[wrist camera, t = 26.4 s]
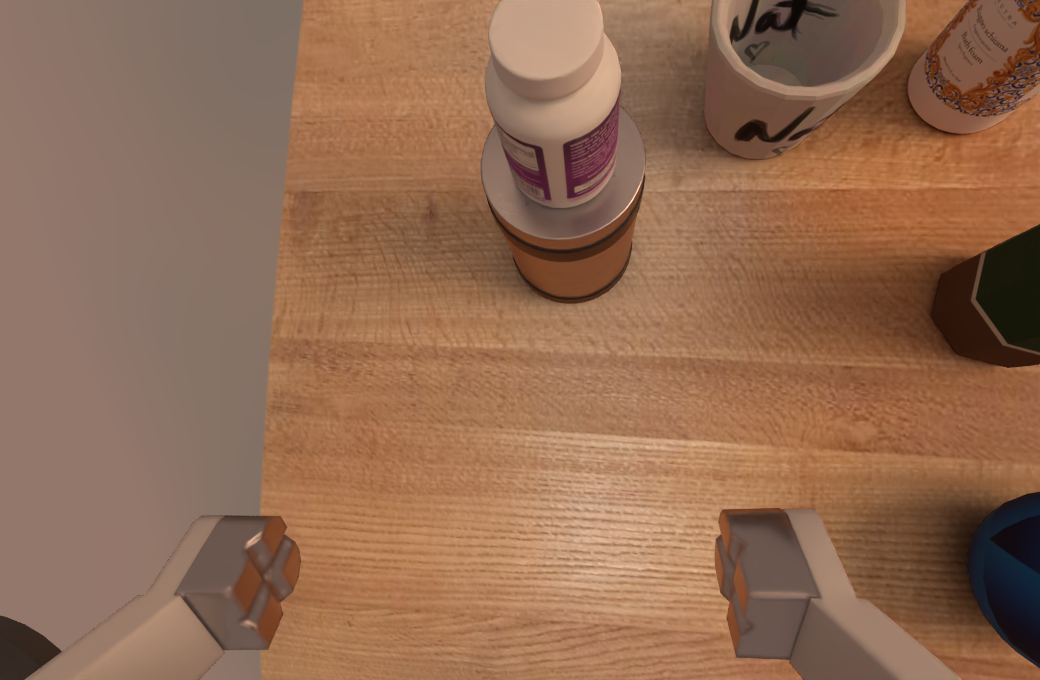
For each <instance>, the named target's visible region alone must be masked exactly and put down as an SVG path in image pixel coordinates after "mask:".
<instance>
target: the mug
mask: <svg viewBox="0 0 1040 680" xmlns="http://www.w3.org/2000/svg"><path fill="white" fill-rule="evenodd" d="M905 11H906V1H905V0H713V1H712V6H711V17H710V28H709V44H708V60H707V75H706V91H705V107H704V117H705V120H706V124H707V128H708V130H709V132H710V133H711V135H712V136H713V138H714V139H715V140H716V142H717V143H718V144H719V145H720V146H722V147H723V148H724V149H726V150H727V151H728V152H730V153H732V154H735V155H738V156H741V157H743V158H750V159H766V158H771V157H775V156H780V155H782V154H784V153H786V152H788V151H789V150H791V149H793V148H795V147H796V146H797V145H799V144H800V143H801V142H802V141H803V140H804V139H805V138H807V137H808V136H809V135H810V134H811V133H812V132H813V131H814V130H816V129H817V128H818V127H819V126H820V125H821V124H822V123H823V122H825V121H826V120H827V119H828V118H829V117H830V116H831V115H832V114H834V113H835V112H836V111H837V110H838V109H839V108H840V107H841V106H843V105H844V104H845V103H846V102H847V101H848V100H849V99H851V98H852V97H853V96H854V95H855V94H856V93H857V92H858V91H860V90H861V89H862V88H863V87H864V86H865V85H866V84H867V83H869V82H870V81H871V80H872V79H873V78H874V77H875V76H876V75H877V74H878V73H879V72H880V71H881V69H882V68H883V67H884V66H885V65H886V64H887V63H888V62H889V61H890V60H891V59H892V58H893V56H894V53H895V51H896V49H897V47H898V44H899V42H900V40H901V37H902V35H903V33H904V30H905Z"/></svg>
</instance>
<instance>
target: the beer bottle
mask: <svg viewBox="0 0 1040 680" xmlns="http://www.w3.org/2000/svg"><path fill="white" fill-rule="evenodd" d="M931 317H932V319H933V320H934V321H935V323H936V324H937V326H938V327H939V329H940V330H941V331H942V333H943V334H944V336H945V337H946V339H947V340H948V341H949V343H950V344H951V346H952V347H953V349H954V350H955V352H956V353H957V354H959V355H963V356H966V357H970V358H974V359H977V360H981V361H985V362H989V363H992V364H996V365H1000V366H1003V367H1007V368H1010V367H1021V366H1031V365H1037V364H1040V224H1039V225H1037V226H1035V227H1033V228H1031V229H1029V230H1027V231H1025V232H1023V233H1021V234H1019V235H1016V236H1014V237H1012V238H1010V239H1008V240H1006V241H1004V242H1002V243H1000V244H998V245H996V246H994V247H992V248H990V249H988V250H986V251H984V252H982V253H980V254H978V255H976V256H974V257H973V258H971V259H969V260H967V261H965V262H963V263H961V264H959V265H957V266H955V267H953V268H952V269H950V270H948V271H947V272H945V273H943V274H941V277H940V281H939V285H938V290H937V294H936V298H935V303H934V307H933V311H932V315H931Z"/></svg>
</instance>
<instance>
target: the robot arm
mask: <svg viewBox="0 0 1040 680" xmlns="http://www.w3.org/2000/svg"><path fill="white" fill-rule="evenodd" d="M718 523H719V527H720V531H721V535H720V536H719V537H718V538H716V543H715V567H716V574H717V580H718V584H719V588H720V593H721V594H722V595H723V596H724V597H725V598H726V599H727V600H728V601H729V607H728V613H727V622H728V626H729V630H730V634H731V638H732V642H733V646H734V650H735V654H736V657H739V658H762V659H785V660H790V662H789V663H790V664H791V665H792V666H793V668H794V669H795V670H796V671H797V672H798V674H799V675H800V676H801V677H802V678H803V680H963V679H961V678H960V677H959V676H958V675H957V674H956V673H954V672H953V671H952V670H951V669H950V668H948V667H947V666H946V665H945V664H944V663H943V662H941V661H940V660H939V659H938V658H937V657H935V656H934V655H933V654H932V653H931V652H929V651H928V650H927V649H926V648H925V647H924V646H922V645H921V644H920V643H919V642H918V641H916V640H915V639H914V638H913V637H912V636H911V635H909V634H908V633H907V632H906V631H905V630H903V629H902V628H901V627H900V626H899V625H897V624H896V623H895V622H894V621H893V620H892V619H890V618H889V617H888V616H887V615H886V614H884V613H883V612H882V611H881V610H880V609H879V608H877V607H876V606H875V605H874V604H873V603H871V602H870V601H869V600H868V599H857V597H856V594H855V592H854V590H853V588H852V586H851V583H850V581H849V579H848V577H847V575H846V572H845V570H844V568H843V566H842V564H841V561H840V559H839V557H838V555H837V553H836V550H835V548H834V546H833V544H832V542H831V539H830V537H829V535H828V533H827V531H826V528H825V526H824V524H823V522H822V520H821V517H820V515H819V513H818V512H817V511H816V510H815V509H813V508H797V509H780V508H762V509H725V510H722V511H721V513H720V516H719V522H718ZM286 529H287V526H286V524H285V522H284V521H283V519H282V518H281V516H228V515H219V516H218V515H217V516H201V517H199V518H198V519H197V520H195V521H194V522H193V523H192V524H191V526H190V527H189V529H188V530H187V532H186V533H185V535H184V537H183V538H182V540H181V541H180V543H179V544H178V546H177V547H176V549H175V550H174V552H173V553H172V555H171V556H170V558H169V559H168V561H167V563H166V564H165V566H164V567H163V569H162V570H161V572H160V573H159V575H158V576H157V578H156V579H155V581H154V582H153V584H152V586H151V587H150V589H149V590H148V592H147V593H146V595H138V596H136V597H135V598H133V599H132V600H131V601H129V602H128V603H127V604H125V605H124V606H123V607H121V608H120V609H119V610H117V611H116V612H115V613H113V614H112V615H111V616H109V617H108V618H107V619H105V620H104V621H103V622H101V623H100V624H99V625H97V626H96V627H95V628H93V629H92V630H90V631H89V632H88V633H86V634H85V635H84V636H82V637H81V638H80V639H78V640H77V641H76V642H74V643H73V644H72V645H71V646H69V647H68V648H66V649H65V650H64V651H62V652H61V653H60V654H58V655H57V656H56V657H54V658H53V659H52V660H50V661H49V662H48V663H46V664H45V665H43V666H42V667H41V668H39V669H38V670H37V671H35V672H34V673H33V674H31V675H30V676H29V677H27V678H26V679H25V680H200V679H201V678H202V677H203V675H204V674H205V673H206V672H207V671H208V670H209V669H210V668H211V667H212V666H213V665H214V664H215V663H216V662H217V661H218V660H219V659H220V657H221V656H222V655H223V654H224V653H225V652H224V650H268V649H269V646H270V644H271V642H272V639H273V637H274V635H275V632H276V630H277V628H278V625H279V623H280V621H281V618H282V616H283V611H282V607H281V602H282V601H283V600H284V599H285V598H286V597H287V596H288V595H289V594H291V593H292V592H293V590H294V587H295V585H296V582H297V580H298V577H299V572H300V565H301V557H300V551H299V548H298V546H297V544H296V542H295V541H293V540H292V539H290V538H289V537H287V536H286V535H284V533H285V531H286Z"/></svg>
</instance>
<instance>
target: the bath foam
mask: <svg viewBox="0 0 1040 680" xmlns="http://www.w3.org/2000/svg"><path fill="white" fill-rule="evenodd" d="M1039 92H1040V0H969V1H968V2H967V3H966V4H965V6H964V7H963V8H962V9H961V10H960V11H959V13H958V14H957V15H956V16H955V17H954V18H953V20H952V21H951V22H950V23H949V24H948V25H947V27H946V28H945V29H944V30H943V31H942V32H941V34H940V35H939V36H938V37H937V38H936V39H935V41H934V42H933V43H932V44H931V46H930V47H929V48H928V49H927V50H926V51H925V53H924V54H923V55H922V56H921V57H920V59H919V60H918V61H917V62H916V64H915V65H914V67H913V69H912V71H911V73H910V76H909V80H908V95H909V99H910V102H911V104H912V106H913V108H914V110H915V111H916V113H917V114H918V115H919V116H920V117H921V118H922V119H923V120H924V121H925V122H927V123H928V124H930V125H931V126H933V127H935V128H937V129H940V130H943V131H946V132H951V133H959V134H966V133H974V132H979V131H982V130H985V129H987V128H990V127H992V126H994V125H996V124H998V123H999V122H1001V121H1002V120H1003V119H1005V118H1006V117H1007V116H1009V115H1010V114H1011V113H1013V112H1014V111H1015V110H1016V109H1018V108H1019V107H1021V106H1022V105H1023V104H1025V103H1026V102H1027V101H1028V100H1030V99H1031V98H1032V97H1034V96H1035V95H1036V94H1037V93H1039Z"/></svg>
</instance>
